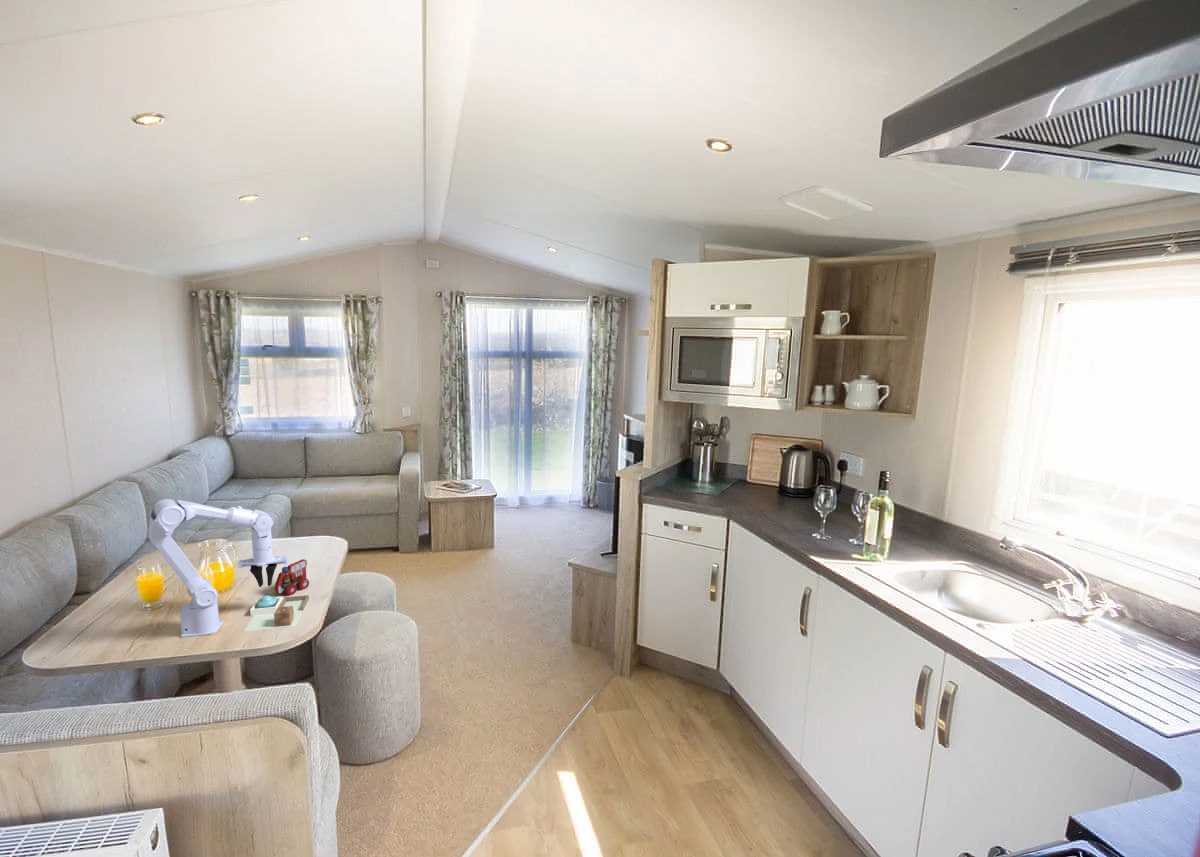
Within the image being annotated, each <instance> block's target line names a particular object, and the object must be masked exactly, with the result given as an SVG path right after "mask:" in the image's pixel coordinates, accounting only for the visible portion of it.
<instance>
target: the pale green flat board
mask: <svg viewBox="0 0 1200 857" xmlns="http://www.w3.org/2000/svg"><path fill="white" fill-rule="evenodd" d="M259 599H260V598H257V600H256V601H255V602H254V604H253V605H252V607H251V608H250V609H249V611H250V612H249V613H250V617H252V618H251V619H250V621H249V622H248V624H247V625H246V626H245V628H244V630H243V632H251V631H261V630H262V631H263V630H271V629H281V628H282V629H283V628H290V627H296V626H297V625H298V622H299V621H300V619H301V616H302V615H303V613H304V611H305V609H306V607H307V605H308V603H309V602H310V599H311V597H310V595H309V594H304V595H294V596H292V595H291V596H277V597H276V602H277V603H276V605H275V606H273V607H268V608H258V607H257V601H258V600H259ZM287 606H293V611H294V620H293V621H292V623H291V625H289V626H279V627H275V622H274V613H275V611H276V610H277V608H278V607H287Z"/></svg>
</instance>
